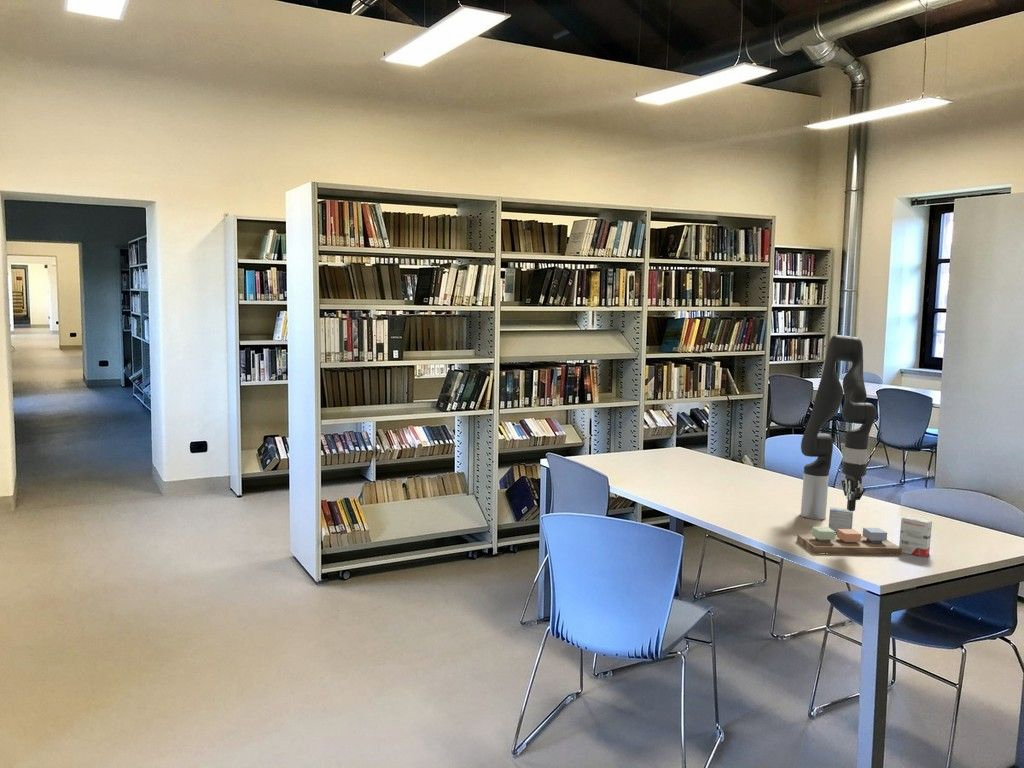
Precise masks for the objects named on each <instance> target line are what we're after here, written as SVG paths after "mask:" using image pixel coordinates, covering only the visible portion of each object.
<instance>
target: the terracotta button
mask: <svg viewBox="0 0 1024 768" xmlns="http://www.w3.org/2000/svg"><path fill="white" fill-rule="evenodd" d="M836 535H837V537H838V538H840V539H841V540H843V541H844V542H861V536H862V533H860V532H859V531H857V530H856V529H853V528H852V529H838V530H837V533H836Z"/></svg>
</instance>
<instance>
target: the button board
mask: <svg viewBox="0 0 1024 768" xmlns="http://www.w3.org/2000/svg"><path fill="white" fill-rule="evenodd" d="M796 535H797V538H796V542H797V541H798V543H799V544H800V543H801V544H802V545H801V544H800V545H801V546H803V547H804V546H805V547H806V549H807V548H808V549H809V550H810V551H809V550H808V549H807V550H808V551H809V552H811V551H812V552H813V553H825V554H824V555H850V554H851V555H855V556H857V555H858V556H859V555H860V556H861V555H863V556H865V555H866V556H902V554H903V552H902V548H900V547H899V545H897V544H895V543H893V542H892V541H891V540H888V539H887V541H875V540H869V539H867V538H866V537H864V536H863V535H861V542H844V541H843V540H841V539H840V538H838V537H837V534H835V540H821V539H817V538H816V537H814V536H813V535H812V534H796ZM805 547H804V548H805ZM812 552H811V553H812ZM813 553H812V554H813ZM826 553H828V554H826Z"/></svg>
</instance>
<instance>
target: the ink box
mask: <svg viewBox="0 0 1024 768" xmlns="http://www.w3.org/2000/svg"><path fill="white" fill-rule="evenodd" d="M932 526H933V521H932V520H929V519H922V518H917V517H913V516H904V517H901V521H900V533H899V545H898V546H899V547H900V548H902V553H905V554H909V555H914V556H918V557H923V558H926V557H928V556H929V555H930V550H931V549H930V548H931V538H932Z"/></svg>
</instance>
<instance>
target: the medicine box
mask: <svg viewBox="0 0 1024 768" xmlns="http://www.w3.org/2000/svg"><path fill="white" fill-rule="evenodd" d="M853 515H854V511H849V510H847V508H841V507H833V506H831V507H830V508H829V516H828V527H829V528H830V529H832V530H834V531H835V534H837V530H838V529H853V522H854V521H853V520H854V516H853Z"/></svg>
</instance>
